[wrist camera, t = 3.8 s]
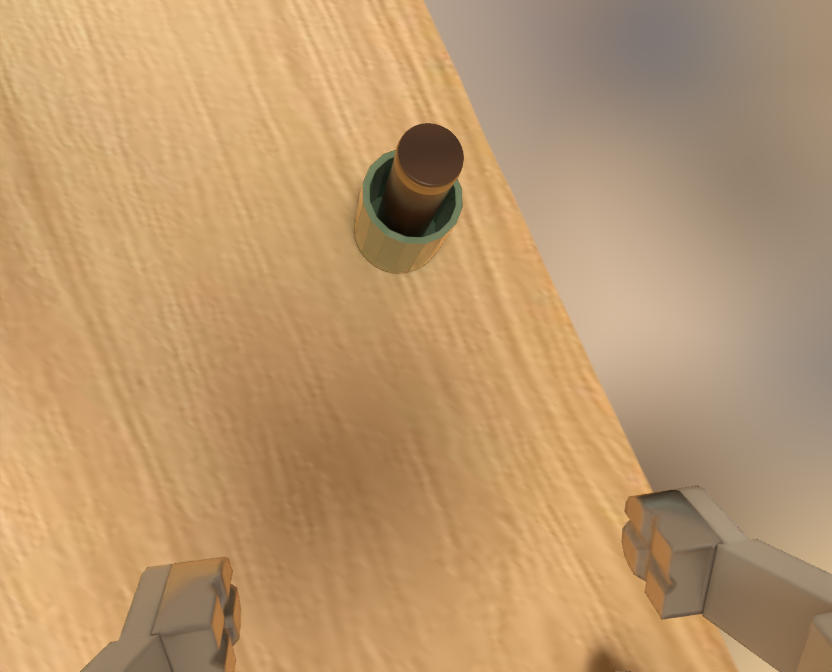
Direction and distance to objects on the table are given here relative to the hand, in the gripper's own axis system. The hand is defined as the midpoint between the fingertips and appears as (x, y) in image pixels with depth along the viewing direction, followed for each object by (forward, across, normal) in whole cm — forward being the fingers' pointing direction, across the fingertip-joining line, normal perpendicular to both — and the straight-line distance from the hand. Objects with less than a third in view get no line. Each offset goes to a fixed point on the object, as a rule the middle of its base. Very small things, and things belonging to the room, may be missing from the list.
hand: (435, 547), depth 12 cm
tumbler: (+38, -3, +4) cm, 39 cm away
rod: (+38, -4, +4) cm, 38 cm away
